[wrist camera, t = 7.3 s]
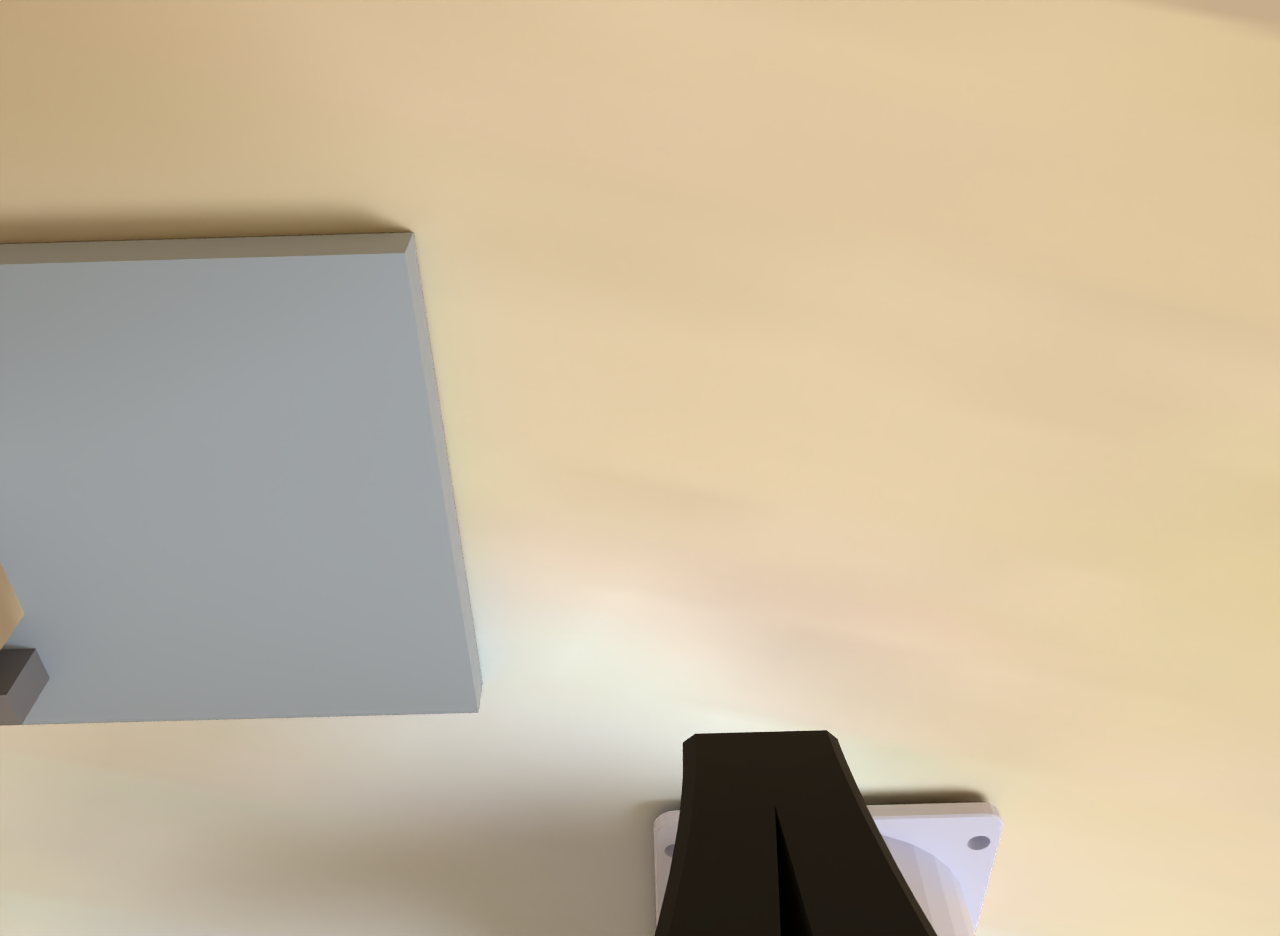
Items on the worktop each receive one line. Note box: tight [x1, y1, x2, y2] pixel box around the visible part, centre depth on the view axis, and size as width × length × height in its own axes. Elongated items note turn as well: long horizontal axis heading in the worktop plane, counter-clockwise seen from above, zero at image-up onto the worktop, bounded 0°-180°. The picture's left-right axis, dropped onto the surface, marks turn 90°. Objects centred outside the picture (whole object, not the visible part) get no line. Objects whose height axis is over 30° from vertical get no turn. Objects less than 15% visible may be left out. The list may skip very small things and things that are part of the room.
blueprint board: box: [0, 232, 482, 725], centre depth 19 cm, size 10×15×2 cm, turn 91°
